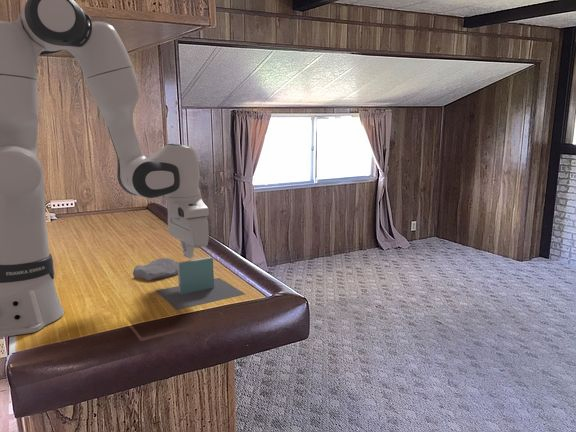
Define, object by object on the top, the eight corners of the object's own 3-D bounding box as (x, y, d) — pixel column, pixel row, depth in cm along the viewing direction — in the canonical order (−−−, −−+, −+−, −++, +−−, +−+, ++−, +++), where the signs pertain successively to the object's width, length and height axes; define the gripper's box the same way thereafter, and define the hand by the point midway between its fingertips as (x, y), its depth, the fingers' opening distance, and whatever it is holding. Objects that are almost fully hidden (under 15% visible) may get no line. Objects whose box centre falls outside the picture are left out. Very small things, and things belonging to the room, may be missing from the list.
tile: (181, 294, 119) (179, 264, 118) (179, 292, 121) (177, 262, 119) (214, 287, 124) (212, 258, 123) (211, 285, 126) (210, 256, 124)
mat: (177, 312, 110) (177, 309, 109) (155, 292, 123) (155, 290, 123) (246, 296, 119) (245, 293, 119) (219, 279, 132) (218, 277, 132)
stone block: (186, 279, 139) (165, 267, 145) (186, 265, 138) (165, 253, 143) (151, 292, 130) (130, 278, 136) (152, 276, 129) (130, 263, 134)
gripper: (160, 202, 131) (164, 251, 133) (187, 213, 114) (191, 268, 116) (181, 200, 134) (185, 247, 137) (211, 209, 117) (215, 263, 120)
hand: (188, 257), depth 126 cm, fingers closed
